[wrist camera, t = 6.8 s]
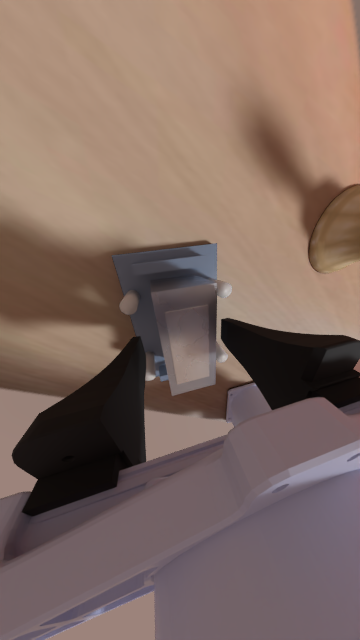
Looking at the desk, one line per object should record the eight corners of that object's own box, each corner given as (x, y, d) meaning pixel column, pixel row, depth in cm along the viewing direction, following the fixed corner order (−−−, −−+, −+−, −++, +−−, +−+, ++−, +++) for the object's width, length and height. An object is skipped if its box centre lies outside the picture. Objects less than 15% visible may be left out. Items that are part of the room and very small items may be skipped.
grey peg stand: (213, 357, 19) (227, 379, 15) (149, 373, 17) (149, 401, 14) (213, 244, 12) (236, 238, 9) (114, 255, 11) (98, 254, 8)
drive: (197, 350, 16) (215, 384, 12) (165, 357, 16) (172, 396, 11) (192, 274, 12) (217, 282, 8) (150, 280, 12) (150, 293, 7)
